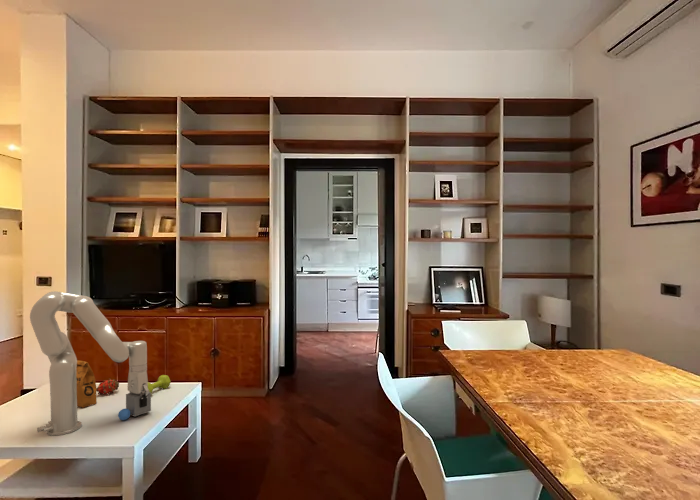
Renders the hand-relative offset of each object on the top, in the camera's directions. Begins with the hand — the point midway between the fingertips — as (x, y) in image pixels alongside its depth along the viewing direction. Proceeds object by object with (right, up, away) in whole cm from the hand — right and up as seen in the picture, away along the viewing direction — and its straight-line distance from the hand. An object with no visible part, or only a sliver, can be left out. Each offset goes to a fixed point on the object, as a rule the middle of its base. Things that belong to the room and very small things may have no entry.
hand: (138, 404), depth 195 cm
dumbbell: (-7, -5, +31) cm, 32 cm away
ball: (-4, -2, -6) cm, 7 cm away
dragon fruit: (-31, -5, +28) cm, 43 cm away
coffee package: (-35, -5, +14) cm, 38 cm away
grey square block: (0, -3, 0) cm, 3 cm away
